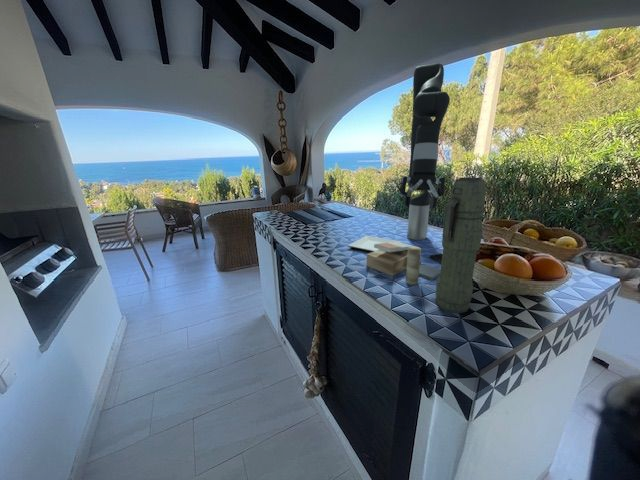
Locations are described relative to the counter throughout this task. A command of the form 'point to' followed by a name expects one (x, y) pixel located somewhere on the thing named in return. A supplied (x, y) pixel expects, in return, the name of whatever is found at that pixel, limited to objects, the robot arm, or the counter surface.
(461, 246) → the thermos
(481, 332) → the counter surface
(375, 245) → the white flat slab
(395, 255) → the switch block
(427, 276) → the slate pad
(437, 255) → the phone
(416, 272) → the dowel
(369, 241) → the plate
